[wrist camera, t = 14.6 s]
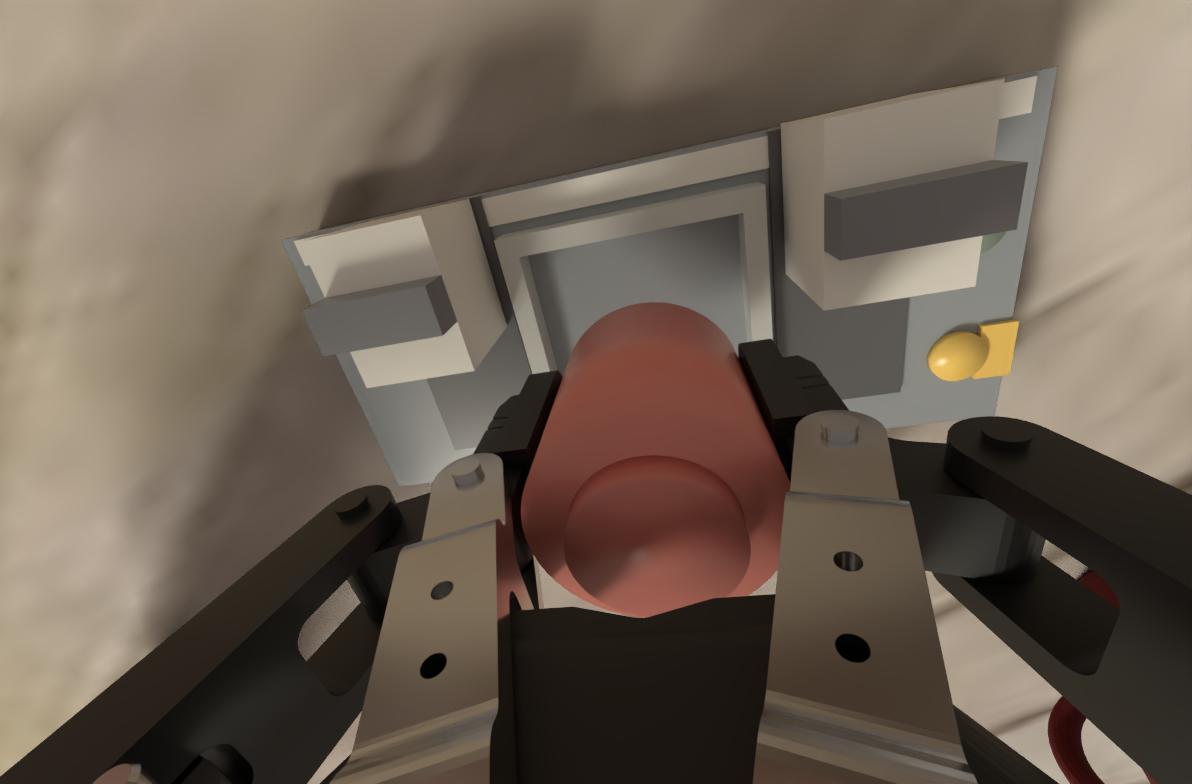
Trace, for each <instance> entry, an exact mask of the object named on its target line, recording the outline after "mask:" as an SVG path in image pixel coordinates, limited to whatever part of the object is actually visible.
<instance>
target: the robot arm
mask: <svg viewBox="0 0 1192 784" xmlns="http://www.w3.org/2000/svg"><path fill="white" fill-rule="evenodd" d="M738 357H739V360H740V363H741V365H742V368H743V370H744V372H745V375H746V377H747V380H748V382H749V385H750V387H751V389H752V392H753V394H754V397H755V399H756V402H757V404H758V406H759V409H760V411H761V414H762V416H763V419H764V421H765V423H766V426H767V428H768V431H769V433H770V435H771V438H772V440H773V443H774V445H775V448H776V450H777V452H778V455H779V457H780V460H781V462H782V465H783V467H784V469H785V472H786V474H787V477H788V479H789V482H790V491H786V495H785V503H784V514H783V524H782V534H781V544H780V554H779V564H778V575H777V585H776V594H773V595H757V596H740V597H724V598H712V599H709V600H705V601H702V602H699V603H695V604H692V605H688V606H685V607H681V608H678V609H675V610H671V611H668V612H664V613H661V614H657V615H654V616H651V617H646V618H632V617H627V616H621V615H616V614H610V613H605V612H599V611H594V610H588V609H583V608H577V607H563V608H547V609H544V605H543V597H542V589H541V581H540V573H539V566H538V562H537V559H536V558H535V556H534V554H533V553H532V551H531V549H530V547H529V545H528V542H527V540H526V538H525V534H524V530H523V527H522V519H521V502H522V495H523V491H524V487H525V483H526V481H527V478H528V475H529V472H530V469H531V466H532V463H533V461H534V458H535V455H536V452H537V449H538V446H539V444H540V441H541V438H542V435H543V432H544V429H545V426H546V424H547V421H548V418H549V415H550V412H551V409H552V407H553V404H554V401H555V398H556V395H557V392H558V389H559V387H560V384H561V381H562V378H563V377H562V375H561V373H560V371H559V370H556V371H549V372H542V373H536V374H530V375H529V376H528V378H527V380H526V382H525V384H524V386H523V388H522V390H521V392H520V394H519V395H514V396H511V397H510V398H509V399H508V400H506V401H505V402H504V403H503V404H502V405H501V406H499V408H498V409H497V411H496V413H495V415H494V417H493V421H491V422H490V424H489V426H488V428H487V429H488V430H486V431H485V433H484V435H483V437H482V439H481V441H480V442H479V444H478V446H477V448H476V450H475V451H474V453H473V454H472V455H468V456H465V457H462V458H460V459H458V460H456V461H454V462H452V463H450V464H449V465H447V466H446V467H444V468H443V469H442V470H441V471H440V472H439V473H438V474H437V475H436V477H435V478H434V480H433V483H432V488H431V492H430V493H427V494H425V495H421V496H418V497H415V498H412V499H409V500H406V501H402V502H399V503H396V501H395V499H394V497H393V495H392V493H391V491H390V490H389V489H388V488H387V487H385V486H381V485H372V486H366V487H362V488H359V489H356V490H354V491H351V492H349V493H347V494H345V495H343V496H341V497H340V498H338V499H337V500H335V501H334V502H332V503H331V504H330V505H328V506H327V507H326V508H325V509H323V510H322V511H321V512H320V513H319V514H317V515H316V516H315V517H314V518H313V519H311V520H310V521H309V522H308V523H307V524H305V525H304V526H303V527H302V528H300V529H299V530H298V531H297V532H296V533H294V534H293V535H292V536H291V537H290V538H288V539H287V540H286V541H285V542H284V543H282V544H281V545H280V546H279V547H278V548H276V549H275V550H274V551H273V552H271V553H270V554H269V555H268V556H267V557H265V558H264V559H263V560H262V561H261V562H259V563H258V564H257V565H256V566H255V567H253V568H252V569H251V570H250V571H248V572H247V573H246V574H245V575H244V576H242V577H241V578H240V579H239V580H238V581H236V582H235V583H234V584H233V585H232V586H230V587H229V588H228V589H227V590H225V591H224V592H223V593H222V594H221V595H219V596H218V597H217V598H216V599H215V600H213V601H212V602H211V603H210V604H209V605H207V606H206V607H205V608H204V609H202V610H201V611H200V612H199V613H198V614H196V615H195V616H194V617H193V618H192V619H190V620H189V621H188V622H187V623H186V624H184V625H183V626H182V627H181V628H180V629H178V630H177V631H176V632H175V633H173V634H172V635H171V636H170V637H169V638H167V639H166V640H165V641H164V642H163V643H161V644H160V645H159V646H158V647H157V648H155V649H154V650H153V651H152V652H150V653H149V654H148V655H147V656H146V657H144V658H143V659H142V660H141V661H140V662H138V663H137V664H136V665H135V666H134V667H132V668H131V669H130V670H129V671H127V672H126V673H125V674H124V675H123V676H121V677H120V678H119V679H118V680H117V681H115V682H114V683H113V684H112V685H111V686H109V687H108V688H107V689H106V690H104V691H103V692H102V693H101V694H100V695H98V696H97V697H96V698H95V699H94V700H92V701H91V702H90V703H89V704H88V705H86V706H85V707H84V708H83V709H82V710H80V711H79V712H78V713H77V714H75V715H74V716H73V717H72V718H71V719H69V720H68V721H67V722H66V723H65V724H63V725H62V726H61V727H60V728H59V729H57V730H56V731H55V732H54V733H52V734H51V735H50V736H49V737H48V738H46V739H45V740H44V741H43V742H42V743H40V744H39V745H38V746H37V747H36V748H34V749H33V750H32V751H31V752H29V753H28V754H27V755H26V756H25V757H23V758H22V759H21V760H20V761H19V762H17V763H16V764H15V765H14V766H13V767H11V768H10V769H9V770H8V771H6V772H5V773H4V774H3V775H2V776H0V784H307V783H308V782H309V780H310V779H311V778H312V776H313V775H314V774H315V772H316V771H317V770H318V768H319V767H320V766H321V764H322V763H323V762H324V760H325V759H326V758H327V756H328V755H329V754H330V752H331V751H332V750H333V748H334V747H335V746H336V744H337V743H338V742H339V740H340V739H341V738H342V736H343V735H344V734H345V732H346V731H347V730H348V728H349V727H350V726H351V724H352V723H353V722H354V720H355V719H356V718H357V716H358V715H359V714H360V712H361V711H362V713H361V717H360V721H359V725H358V730H357V734H356V738H355V742H354V746H353V750H352V753H351V754H350V755H349V756H348V757H347V758H346V759H345V760H344V761H343V762H342V763H341V764H340V765H339V766H338V767H337V768H336V769H335V770H334V771H333V772H332V773H330V774H329V775H328V776H327V777H326V778H325V779H324V780H323V781H322V782H321V783H320V784H1059V783H1057V782H1056V781H1055V780H1053V779H1052V778H1051V777H1049V776H1048V775H1047V774H1045V773H1044V772H1043V771H1041V770H1040V769H1039V768H1037V767H1036V766H1035V765H1033V764H1032V763H1031V762H1029V761H1028V760H1027V759H1025V758H1024V757H1023V756H1021V755H1020V754H1019V753H1017V752H1016V751H1015V750H1013V749H1012V748H1011V747H1009V746H1008V745H1007V744H1005V743H1004V742H1003V741H1001V740H1000V739H999V738H997V737H996V736H995V735H993V734H992V733H991V732H989V731H988V730H986V729H985V728H984V727H982V726H981V725H980V724H978V723H977V722H976V721H974V720H973V719H972V718H970V717H969V716H968V715H966V714H965V713H964V712H962V711H961V710H960V709H958V708H957V707H956V706H954V705H953V703H952V698H951V693H950V689H949V684H948V679H947V674H946V670H945V665H944V660H943V655H942V651H941V646H940V641H939V636H938V632H937V627H936V622H935V617H934V613H933V608H932V603H931V598H930V594H929V589H928V584H927V579H926V575H925V571H931V572H932V573H933V575H934V577H935V578H936V579H937V581H938V582H939V583H940V584H941V585H942V586H943V587H944V588H945V589H946V590H947V591H949V592H950V593H951V594H952V595H953V596H954V597H955V598H956V599H957V600H958V601H959V602H961V603H962V604H963V605H964V606H965V607H966V608H967V609H968V610H969V611H970V612H972V613H973V614H974V615H975V616H976V617H977V618H978V619H979V620H980V621H981V622H982V623H984V624H985V625H986V626H987V627H988V628H989V629H990V630H991V631H992V632H993V633H994V634H996V635H997V636H998V637H999V638H1000V639H1001V640H1002V641H1003V642H1004V643H1005V644H1007V645H1008V646H1009V647H1010V648H1011V649H1012V650H1013V651H1014V652H1015V653H1016V654H1017V655H1019V656H1020V657H1021V658H1022V659H1023V660H1024V661H1025V662H1026V663H1027V664H1028V665H1029V666H1031V667H1032V668H1033V669H1034V670H1035V671H1036V672H1037V673H1038V674H1039V675H1040V676H1042V677H1043V678H1044V679H1045V680H1046V681H1047V682H1048V683H1049V684H1050V685H1051V686H1052V687H1054V688H1055V689H1056V690H1057V691H1058V692H1059V693H1060V694H1061V695H1062V696H1063V697H1065V698H1066V699H1067V700H1068V701H1069V702H1070V703H1071V704H1072V705H1073V706H1074V707H1075V708H1077V709H1078V710H1079V711H1080V712H1081V713H1082V714H1083V715H1084V716H1085V717H1086V718H1087V719H1089V720H1090V721H1091V722H1092V723H1093V724H1094V725H1095V726H1096V727H1097V728H1098V729H1100V730H1101V731H1102V732H1103V733H1104V734H1105V735H1106V736H1107V737H1108V738H1109V739H1110V740H1112V741H1113V742H1114V743H1115V744H1116V745H1117V746H1118V747H1119V748H1120V749H1121V750H1122V751H1124V752H1125V753H1126V754H1127V755H1128V756H1129V757H1130V758H1131V759H1132V760H1133V761H1135V762H1136V763H1137V764H1138V765H1139V766H1140V767H1141V768H1142V769H1143V770H1144V771H1145V772H1147V773H1148V774H1149V775H1150V776H1151V777H1152V778H1153V779H1154V780H1155V781H1156V782H1157V783H1159V784H1192V495H1190V494H1188V493H1186V492H1184V491H1182V490H1179V489H1177V488H1175V487H1173V486H1171V485H1169V484H1166V483H1164V482H1162V481H1160V480H1158V479H1155V478H1153V477H1151V476H1149V475H1147V474H1145V473H1142V472H1140V471H1138V470H1136V469H1134V468H1132V467H1129V466H1127V465H1125V464H1123V463H1121V462H1119V461H1116V460H1114V459H1112V458H1110V457H1108V456H1105V455H1103V454H1101V453H1099V452H1097V451H1095V450H1092V449H1090V448H1088V447H1086V446H1084V445H1082V444H1079V443H1077V442H1075V441H1073V440H1071V439H1069V438H1066V437H1064V436H1062V435H1060V434H1058V433H1055V432H1053V431H1051V430H1049V429H1047V428H1044V427H1042V426H1040V425H1037V424H1034V423H1031V422H1027V421H1023V420H1019V419H1013V418H1007V417H994V416H986V417H974V418H969V419H965V420H962V421H959V422H957V423H955V424H954V425H953V426H952V427H951V428H950V429H949V431H948V435H947V443H946V444H944V443H929V442H913V441H903V440H897V439H892V438H888V436H887V431H886V429H885V427H884V426H883V425H882V424H881V423H880V422H879V421H878V420H876V419H874V418H873V417H870V416H868V415H865V414H862V413H858V412H854V411H849V409H848V408H847V406H846V405H845V404H844V402H843V401H842V400H841V398H840V397H839V396H838V394H837V393H836V392H835V390H834V389H833V387H832V386H830V384H829V382H828V381H827V379H826V378H825V377H824V376H823V374H822V373H821V371H820V370H819V368H818V367H817V366H816V364H815V363H813V362H811V361H809V360H807V359H805V358H803V357H801V356H799V355H796V356H789V357H783V356H782V355H781V353H780V352H779V350H778V348H777V347H776V345H775V343H774V342H773V340H772V339H764V340H758V341H751V342H744V343H739V344H738ZM1045 540H1048V541H1049V542H1051V543H1052V544H1054V545H1055V546H1057V547H1058V548H1060V549H1061V550H1063V551H1064V552H1066V553H1068V554H1069V555H1071V556H1072V557H1074V558H1075V559H1077V560H1078V561H1080V562H1081V563H1083V564H1084V565H1086V566H1087V567H1089V568H1090V569H1092V570H1093V571H1094V572H1096V573H1097V574H1098V575H1100V576H1101V577H1102V578H1103V579H1104V580H1105V581H1106V582H1107V583H1108V584H1109V586H1110V587H1111V588H1112V590H1113V591H1114V593H1115V595H1116V597H1117V599H1118V601H1119V605H1120V610H1119V609H1118V608H1116V607H1115V606H1113V605H1112V604H1110V603H1109V602H1108V601H1106V600H1105V599H1103V598H1102V597H1100V596H1099V595H1097V594H1096V593H1095V592H1093V591H1092V590H1090V589H1089V588H1087V587H1086V586H1085V585H1083V584H1082V583H1080V582H1079V581H1077V580H1076V579H1074V578H1073V577H1072V576H1070V575H1069V574H1067V573H1066V572H1064V571H1063V570H1061V569H1060V568H1059V567H1057V566H1056V565H1054V564H1053V563H1051V562H1050V561H1049V560H1047V559H1046V558H1044V557H1043V556H1041V554H1042V551H1043V547H1044V543H1045ZM346 580H348V582H349V584H350V585H351V587H352V589H353V590H354V592H355V594H356V595H357V597H358V599H359V600H360V602H361V603H360V604H359V605H358V606H357V607H356V608H355V609H354V610H353V611H352V612H351V614H350V615H349V616H348V617H347V618H346V619H345V620H344V621H343V622H342V623H341V624H340V626H339V627H338V628H337V629H336V630H335V631H334V632H333V633H332V634H331V635H330V637H329V638H328V639H327V640H326V641H325V642H324V643H323V644H322V645H321V646H320V647H319V649H318V650H317V651H316V652H315V653H314V654H313V655H312V656H311V657H310V658H309V659H308V661H307V662H306V661H305V659H304V658H303V657H302V655H301V654H300V652H299V650H298V644H297V642H298V636H299V633H300V630H301V628H302V626H303V625H304V623H305V622H306V620H307V619H308V618H309V617H310V616H311V615H312V614H313V613H314V612H315V611H316V610H317V609H318V608H319V607H320V606H321V605H322V604H323V603H324V602H325V601H326V600H327V599H328V598H329V597H330V596H331V595H332V594H333V593H334V592H335V591H336V590H337V589H338V588H339V587H340V586H341V585H342V584H343V583H344V582H345V581H346Z"/></svg>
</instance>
